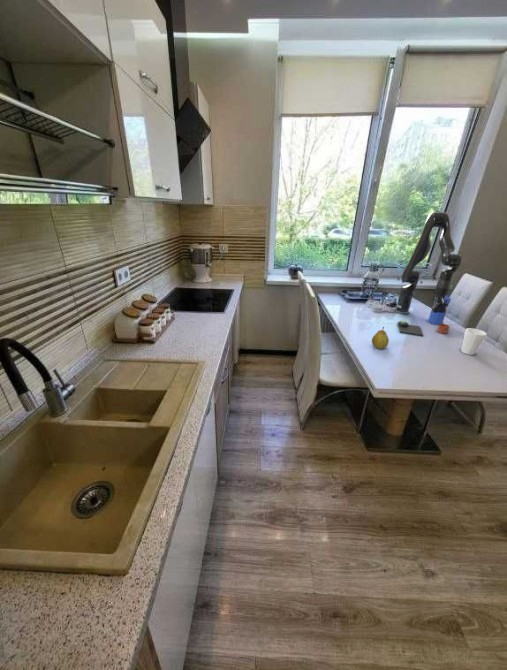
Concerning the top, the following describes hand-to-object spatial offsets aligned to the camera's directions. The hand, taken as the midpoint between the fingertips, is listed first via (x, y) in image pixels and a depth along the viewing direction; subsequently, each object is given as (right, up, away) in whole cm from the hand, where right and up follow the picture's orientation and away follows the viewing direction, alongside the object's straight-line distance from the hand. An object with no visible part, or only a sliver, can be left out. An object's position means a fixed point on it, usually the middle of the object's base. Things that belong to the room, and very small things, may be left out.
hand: (434, 312), depth 181 cm
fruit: (-46, -22, -19) cm, 54 cm away
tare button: (-15, -7, +10) cm, 20 cm away
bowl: (+7, -13, +3) cm, 15 cm away
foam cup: (+4, -25, -22) cm, 34 cm away
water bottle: (+13, -6, +20) cm, 24 cm away
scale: (-14, -11, +5) cm, 19 cm away
